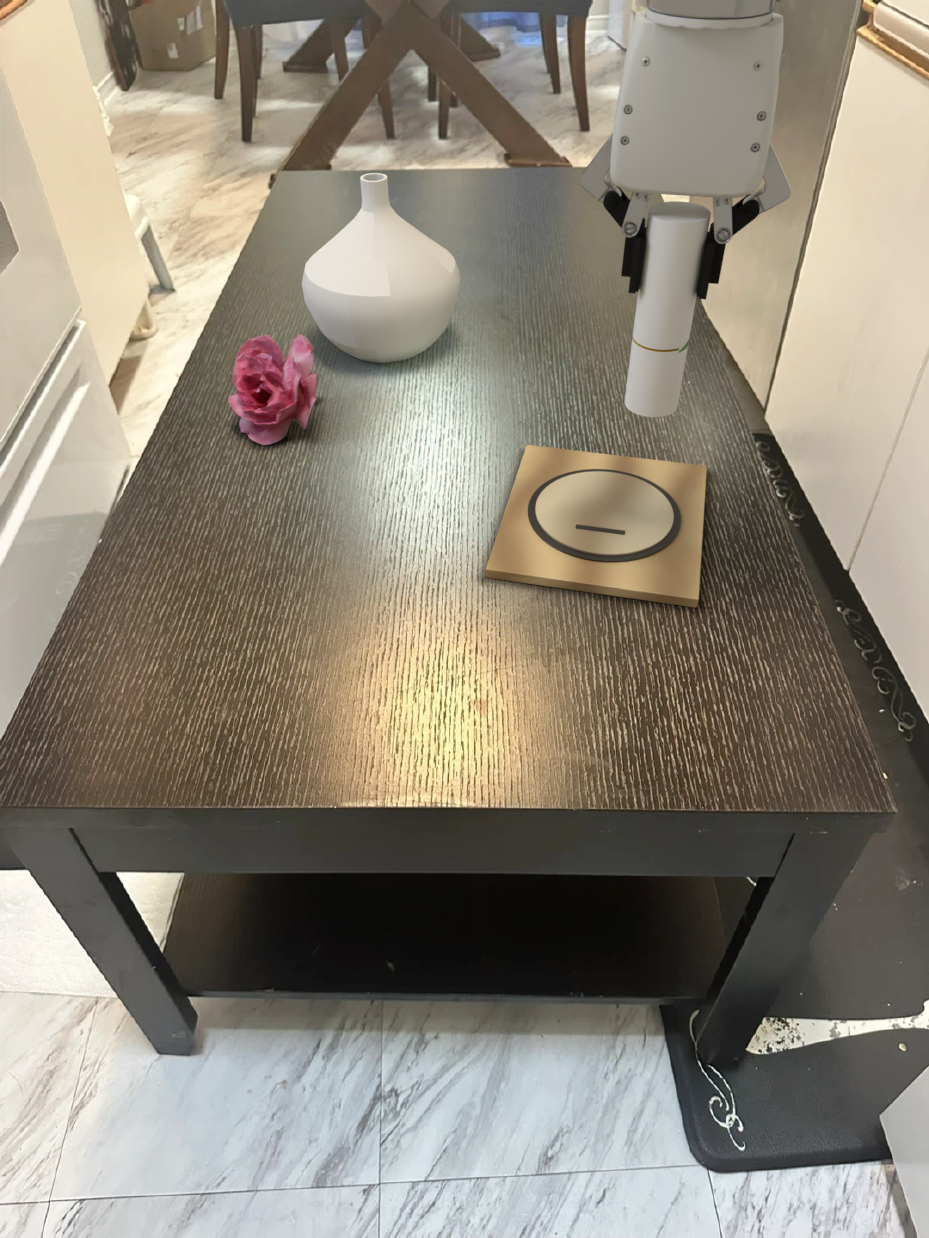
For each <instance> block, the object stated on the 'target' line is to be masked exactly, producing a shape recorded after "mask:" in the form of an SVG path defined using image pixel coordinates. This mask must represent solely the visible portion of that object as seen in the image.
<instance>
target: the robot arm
mask: <svg viewBox="0 0 929 1238" xmlns="http://www.w3.org/2000/svg"><path fill="white" fill-rule="evenodd" d="M781 2H782V0H647V6H646V8H645V9H641V10H638V11H636V12H635V15H634V18H633V21H632V25H631V28H630V33H629V36H628V41H627V45H626V50H625V55H624V61H623V64H622V65H623V66H622V71H621V76H620V83H619V89H618V96H617V103H616V109H615V117H614V124H613V130H612V133H611V134H610V136H609V137H608V138H607V140H606V141H605V142H604V143H603V145H602V146H601V147H600V149H599V150H598V151H597V153H596V154H595V156H594V157H593V158H592V159H591V161H590V162H589V164H588V165H587V166H586V167H585V169H584V170H583V172H582V174H581V176H580V178H579V185H580V187H581V188H582V189H583V190H584V191H585V192H587V193H588V194H589V195H590V196H591V197H593V198H594V199H595V200H596V202H599V203H600V204H602V205H603V208H604V209H605V211H607V212H608V214H609V215H610V216H611V218H612V219H613V220H614V222H615V223H616V224H617V225H618V226H619V227H620V229H621V233H622V235H623V236H624V246H623V255H622V265H621V273H620V276H621V277H622V278H623V277H625V278H629V285H628V294H633V295H634V294H636V293H638V291H639V285H640V278H641V270H642V262H643V254H644V246H645V238H646V227H647V226H646V218H645V217H644V216H645V213H646V211H647V209H648V204H649V201H650V199H651V196H652V194H653V195H668V196H681V197H682V196H684V197H685V196H686V197H699V198H700V197H701V198H712V213H713V217H712V218H713V221H712V223H710V225H709V228H708V233H707V239H706V241H705V247H704V253H703V259H702V265H701V270H700V276H699V282H698V288H697V295H696V298H698V299H699V300H707V296H708V292H709V285H710V284H714V285H719V282H720V278H721V272H722V267H723V262H724V256H725V251H726V246H727V244H728V243H729V242H730V241H731V240H732V238H733V237H734V236H735V235H736V234H737V233H739V232H740V231H741V230H742V229H744V228H745V227H746V226H747V225H749V224H750V223H752V222H753V221H754V220H755V219H756V218H757V217H758V216H759V215H760V214H763V213H766V212H768V211H769V210H771V209H773V208H775V207H777V206H778V205H780V204H782V203H784V202H785V201H787V200H788V199H789V198H790V196H791V193H792V190H791V183H790V181H789V180H788V177H787V175H786V174H787V173H786V172H785V170H784V167H783V165H782V163H781V161H780V158H779V157H778V154H777V152H776V150H775V147H774V145H773V142H772V140H771V139H772V133H773V132H772V131H773V127H774V121H775V116H776V115H775V114H776V108H777V101H778V100H777V99H778V94H779V85H780V75H781V67H782V66H781V64H782V56H783V49H784V15H782V14H780V13H776V12H775V10H776V4H777V3H781ZM608 172H609V175H610V179H609V177H608V176H607V175H608V174H607V173H608ZM762 180H763V181H764V184H763V186H761V187H760V185H761V183H762ZM759 187H760V188H759ZM624 191H627V192H632V193H631V195H630V198H629V197H628V196H627V194H626V193H625V192H624ZM736 198H737V199H738V198H741V199H740V200H739V201H737V202H736V203H735V204H733V199H736Z"/></svg>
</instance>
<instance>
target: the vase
mask: <svg viewBox="0 0 929 1238" xmlns="http://www.w3.org/2000/svg"><path fill="white" fill-rule="evenodd" d="M359 181H360V182H359V183H360V192H361V207H360V209H359V210H358V212H357V214H356V215H355V217H354V218H353V219H352V220H350V221H349V222H348V224H346V225H345V226H344V227H343V228H342V229H341V230H340V231H338V232H337V233H336V235H334V236H333V238H331V239H330V240H329V241H328V242H326V243H325V244H324V245H323V246H322V247H321V248H319V249H318V250H317V251H315V253H314V254H312V255H311V256H310V257H309V259H308V260H307V261H306V262H305V265H304V270H303V273H302V279H301V287H302V293H303V294H302V295H303V301H304V303H305V305H306V308H307V309H308V311H309V313H310V315H311V317H312V318H313V320H314V322H315V323H316V325H317V327H318V329H319V330H320V333H322V335H323V336H325V337H326V338H327V339H328V340H329V341H330V343H332V344H333V345H334V346H335V347H336V348H338V349H339V350H340V351H342V352H344V353H346V354H347V355H349V356H351V357H353V358H356V359H357V360H360V361H365V362H368V363H378V364H382V363H383V364H384V363H385V364H387V363H397V362H402V361H406V360H409V359H412V358H414V357H416V356H418V355H419V354H421V353H423V352H424V351H426V350H428V348H430V347H431V346H432V345H433V344H434V343H436V342H437V341H438V339H439V338H440V337H441V335H443V333H444V332H445V331H446V329H447V328H448V326H449V323H450V321H451V319H452V317H453V315H454V311H455V309H456V307H457V304H458V302H459V299H460V297H461V275H460V270H459V267H458V264H457V262H456V258H455V257H454V256H453V254H451V252H450V251H449V250H448V249H446V248H445V247H443V246H442V245H440V244H439V243H438V242H436V241H434V240H433V239H431V238H430V237H428V236H427V235H426V234H424V233H423V232H421V231H420V230H418V229H417V228H416V227H414V226H413V225H412V224H410V223H409V222H408V221H406V220H405V219H404V218H403V217H401V216H400V215H398V213H396V211H395V209H393V207H392V206H391V203H390V197H389V182H388V176H387V174H384V173H381V172H370V173H364V174H362V175H361V176H360V177H359Z"/></svg>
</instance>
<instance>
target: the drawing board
mask: <svg viewBox="0 0 929 1238" xmlns="http://www.w3.org/2000/svg"><path fill="white" fill-rule="evenodd" d="M517 470H518V471H517V472H516V476H515V478H514V481H513V484H512V488H511V491H510V494H509V497H508V500H507V503H506V506H505V509H504V511H503V515H502V518H501V521H500V524H499V527H498V530H497V533H496V535H495V540H494V543H493V545H492V548H491V552H490V555H489V558H488V561H487V564H486V567H485V578H486V579H494V580H501V581H507V582H514V583H520V584H521V583H522V584H529V585H536V586H541V587H549V588H556V589H561V590H563V589H564V590H570V591H575V592H576V591H577V592H583V593H592V594H599V595H603V596H611V597H619V598H624V599H625V598H626V599H631V600H639V601H645V602H653V603H660V604H668V605H672V606H673V605H675V606H681V607H688V608H695V609H696V608H697V607H698V604H699V600H700V587H701V568H702V553H703V552H702V551H703V537H704V523H705V522H704V520H705V505H706V504H705V503H706V490H707V489H706V487H707V472H708V465H703V464H694V463H687V462H677V461H668V460H662V459H661V460H660V459H653V458H652V459H651V458H642V457H634V456H627V455H619V454H608V453H602V452H601V453H600V452H594V451H593V452H592V451H583V450H575V449H567V448H559V447H558V448H557V447H550V446H549V447H548V446H542V445H541V446H540V445H532V444H526V446H525V449H524V450H523V454H522V458H521V460H520V463H519V467H518V469H517Z"/></svg>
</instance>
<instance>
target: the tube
mask: <svg viewBox="0 0 929 1238" xmlns="http://www.w3.org/2000/svg"><path fill="white" fill-rule="evenodd" d="M647 211H648V212H647V220H646V226H645V227H646V238H645V246H644V254H643V262H642V270H641V278H640V285H639V291H638V292H637V297H636V298H637V299H636V306H635V312H634V313H635V315H634V324H633V329H632V339H631V347H630V353H629V361H628V362H629V363H628V371H627V377H626V378H627V379H626V387H625V395H624V406H625V408H626V409H627V410H628V411H630V412H631V413H633V414H635V415H637V416H642V417H645V418H662V417H667V416H670V415H672V414H673V413H675V412H676V411H677V409H678V406H679V400H680V394H681V388H682V385H683V384H682V383H683V377H684V372H685V365H686V359H687V354H688V349H689V340H690V336H691V330H692V325H693V320H694V314H695V309H696V308H695V307H696V302H697V297H696V295H697V288H698V282H699V276H700V270H701V265H702V259H703V253H704V247H705V241H706V239H707V233H708V232H709V228H710V221H711V215H712V213H711V211H710V209H709V208H708V207H705V206H704V205H701V204H698V203H694V202H690V201H678V200H675V201H674V200H673V201H672V200H671V201H663V202H658V203H655V204H652V205H650V206H649V208H648V210H647Z"/></svg>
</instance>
